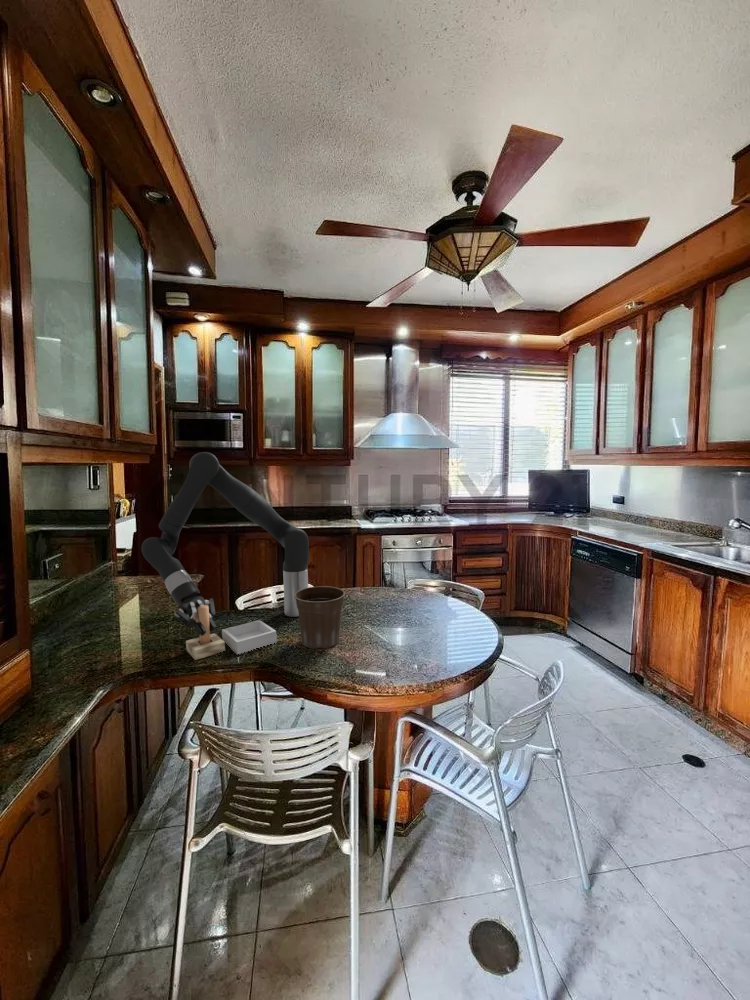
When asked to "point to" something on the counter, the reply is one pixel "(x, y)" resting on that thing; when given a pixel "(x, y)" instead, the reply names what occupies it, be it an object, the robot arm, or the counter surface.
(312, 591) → the plant pot
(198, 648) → the dowel holder
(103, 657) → the counter surface
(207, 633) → the dowel
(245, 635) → the tray
